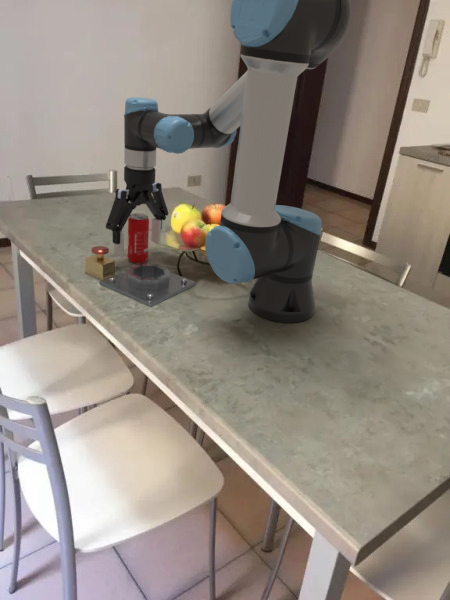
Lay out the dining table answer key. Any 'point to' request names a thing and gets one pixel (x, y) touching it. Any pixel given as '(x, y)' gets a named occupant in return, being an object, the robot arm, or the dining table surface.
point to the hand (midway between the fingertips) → (137, 248)
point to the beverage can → (138, 238)
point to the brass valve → (100, 263)
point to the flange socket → (148, 283)
